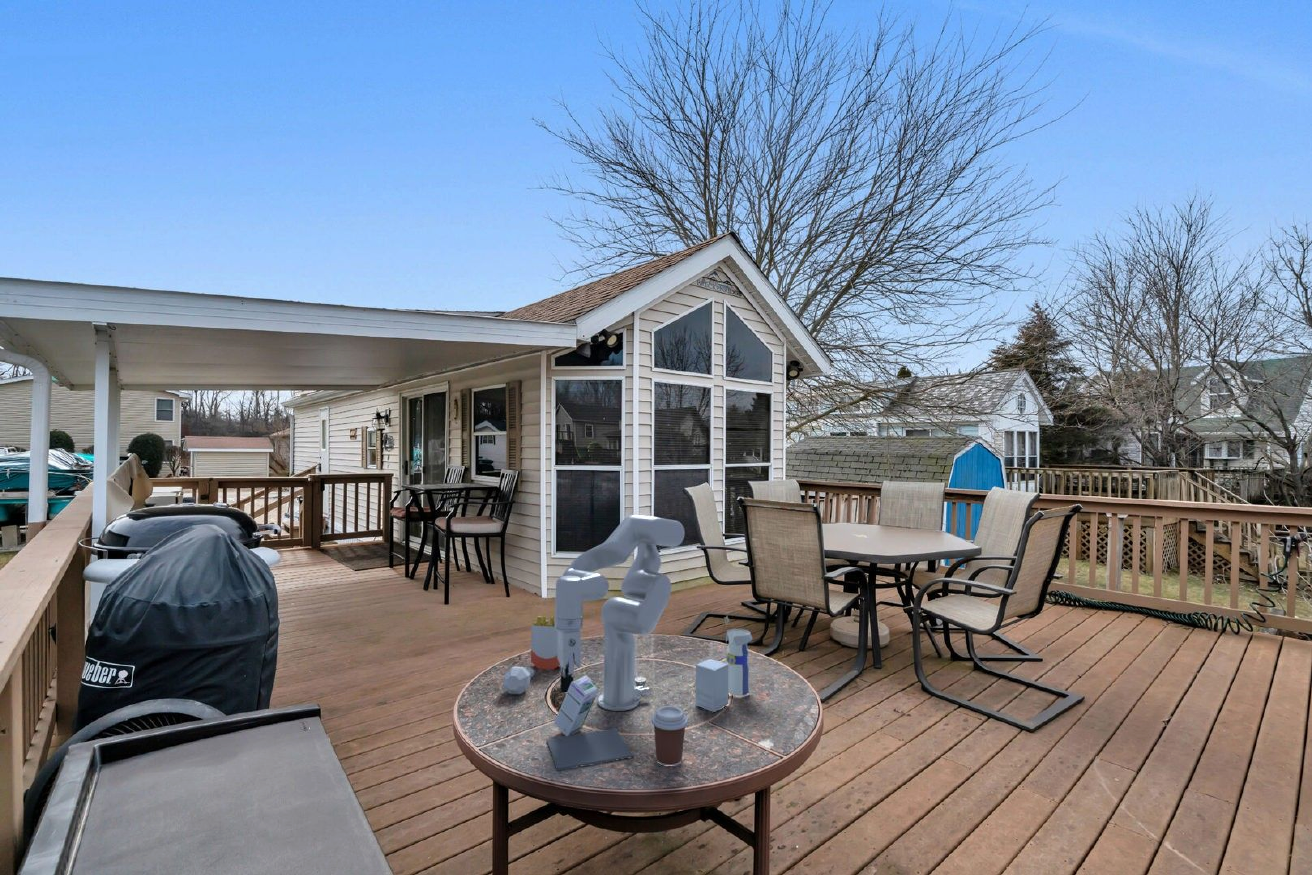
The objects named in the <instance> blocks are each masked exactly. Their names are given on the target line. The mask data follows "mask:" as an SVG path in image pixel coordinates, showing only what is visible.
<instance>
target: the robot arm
mask: <svg viewBox="0 0 1312 875" xmlns="http://www.w3.org/2000/svg"><path fill="white" fill-rule="evenodd" d="M685 533H686V532H685V528H684V525H683V524H682V523H681V522H680V521H679V520H674V519H669V518H662V517H658V516H652V515H651V516H650V515H641V514H631V515H630V514H629V515H628V516H626V517H625V518H624V519H623V520H622V521H621V522H620V523H619V525H618V526H617V527H616V528H615V530H614V531H613V532H612V533H611V534H610V535H609V537H607V539H606V540H605V541H603V543H601V544H598V545H597V546H595V547H593V548H591V549H588V550H586V551H585V552H583V553H581V554H579V556H577V557H576V558H575V559H574V560H573V561H571V563H570V564H569V566H568V567H567V568H566V569H565V571H564V572H563V573H562V575H561V576H560V577H558V578H557V579H556V582H555V600H554V601H555V602H554V603H555V606H554V609H555V611H554V620H555V630H557V631H558V640H557V658H558V661H559V663H560V686H559V687H560V691H561V693H567V691H568V689H569V687H570V684H571V682H572V681H574V673H575V666H576V668H578V669H580V668H581V667H582V643H581V640H582V639H581V631H582V629H583V625H584V624H583V622H584V620H583V618H584V602H595V601H599V600H602V599H603V598H604V597H606V595H607V593H609V592H608V591H609V588H610V585H609V580H608V578H606V577H605V575H603V574H601V573H597V572H596V571H598V570H602V569H605V568H606V569H607V568H611V567H612V568H613V567H615V566H619V565H621V564H622V565H623V564H624V563H626V561H627V560H628V559H629V558H630V556H631V555H632V554H633V552H634V551H635V549H637V551H636V555H635V556H636V557H635V559H634V561H633V562H632V564H631V565H630V567H629V569H628V571H627V573H626V574H625V577H624V578H623V580H622V583H621V586H620V588H621V589H620V591H621V593H622V595H623V596H624V597H622V596H614V597H610V598H608V599H607V600H606V601H604V604H603V605H602V607H601V623H602V627H603V628H602V629H603V638H604V640H603V641H604V642H603V644H604V645H603V681H602V682H603V684H602V686H603V687H602V689H603V690H602V691H603V692H602V693H601V694H600V695H599V696H598V699H597V704H598V706H600V707H601V708H602V709H605V710H606V711H607V710H609V711H612V712H613V711H614V712H622V711H623V712H624V711H629V710H633V709H636V707H638V705H640V697H641V696H646V695H650V693H651V690H650V688H649V687H643V685H639V686H636V684H635V682H636V675H635V674H636V640H635V637H634V635H639V636H648V635H649V634H651V633H652V632H653V631H654V630H655V629H656V626H657V625H658V622H659V620H660V619H661V616H662V614H663V612H664V610H665V608H666V607H667V605H668V602H669V600H670V596H671V594H672V583H671V580H670V578H669V577H668V576H667V575H666V574H664V573H662V572H659V570H660V569H661V566H662V565H661V564H662V560H661V556H660V553H659V551H658V548H657V546H661V547H669V548H670V547H672V548H675V547H678V546H680V545H681V544H682V543H683V541H684V538H685Z"/></svg>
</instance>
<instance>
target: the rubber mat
mask: <svg viewBox="0 0 1312 875" xmlns="http://www.w3.org/2000/svg"><path fill="white" fill-rule="evenodd" d="M546 744H547V747H548V748H549V751H550V754H551V757H552V759H553V761H555V762H554V764H555V766H557V767H556V769H557V771H558V770H559V771H563V770H570V769H573V768H572V767H576V766H581V765H587V766H591V765H590V764H593V765H598V764H597V763H599V764H602V763H601V762H605V763H607V762H606V761H611V762H614V761H613V760H616V759H622V758H628V757H633V758H634V754H633V753H632V752H633V751H631V749H630V747H629V746H628V745H627V743H626V741H625V740H624V738H623V737H622V736H621V734H620V732H619V730H618V729H617V728H609V729H605V730H603V729H602V730H597V731H589V732H585V733H578V734H572V735H570V736H565V735H564V736H558V737H552V738H546ZM628 759H629V758H628ZM622 760H623V759H622ZM616 761H617V760H616ZM569 768H570V769H569ZM576 768H577V767H576Z"/></svg>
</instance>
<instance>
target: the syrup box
mask: <svg viewBox="0 0 1312 875" xmlns="http://www.w3.org/2000/svg"><path fill="white" fill-rule="evenodd" d="M599 691H600V686H598V685H597V684H596V682H594V680H592V679H591V678H590V677H589V676H587V674H585V675H583V676H581V677H578V678H576V679H573V681H572V682H571V684H570V687H569V689H568V691H567V692H566V694H565V696H564V699H563V701H562V703H561V706H560V708H559V710H558V712H557V715H556V717H555V719H554V722H553V724H554V725H555V726H556V727H557V728H558V730H560V731H561V733H562V734H563V735H564V736H570V735H575V734H576V733H577V732H579V731H581V730H582V729H583V726H584V724H585V722H586V719H587V717H588V715H589V712H590V710H591V708H592V706H593V704H594V701H595V699H596V697H597V695H598V692H599Z"/></svg>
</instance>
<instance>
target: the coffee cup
mask: <svg viewBox="0 0 1312 875" xmlns="http://www.w3.org/2000/svg"><path fill="white" fill-rule="evenodd" d="M651 723H652V725H653V727H654V728H653V729H654V743H655V745H654V746H655V760H657V761H658V762H659V763H661V764H662V765H677V764H679V763H680V762H681V761H682V762H683V749H684V740H685V732H686V727H687V725H688V723H689V718H688V717H687V715H685V711H684V710H683V709H682V708H680V707H678V706H673V705H666V706H665V705H664V706H661V707H659V708H657V709H656V711H655V713H654V714H653V715H652V717H651ZM657 761H656V762H657ZM682 762H681V763H682Z"/></svg>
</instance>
